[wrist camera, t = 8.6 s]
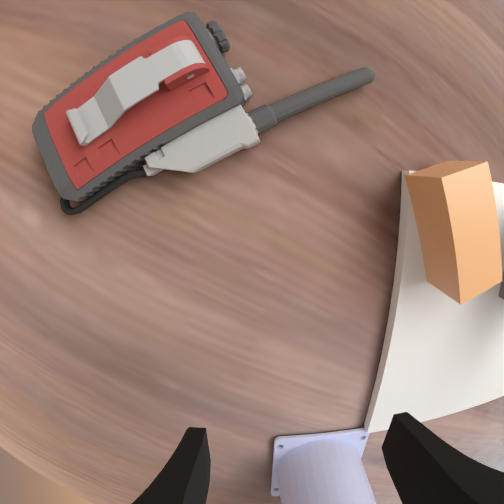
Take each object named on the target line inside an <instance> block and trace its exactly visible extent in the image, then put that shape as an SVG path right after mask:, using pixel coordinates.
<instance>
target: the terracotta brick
mask: <svg viewBox="0 0 504 504" xmlns="http://www.w3.org/2000/svg"><path fill="white" fill-rule="evenodd" d="M404 176H405V179H406V183H407V187H408V191H409V194H410V198H411V202H412V207H413V211H414V215H415V220H416V224H417V229H418V234H419V238H420V244H421V249H422V254H423V260H424V266H425V272H426V278H427V282H428V283H430V284H431V285H433V286H434V287H436V288H437V289H439V290H440V291H442V292H443V293H444V294H446V295H447V296H449V297H450V298H452V299H453V300H454V301H456V302H457V303H459V304H460V305H461V304H463V303H465V302H467V301H469V300H470V299H472V298H474V297H476V296H478V295H479V294H481V293H483V292H485V291H486V290H488V289H490V288H491V287H493V286H495V285H496V284H498V283H500V282H501V281H502V260H501V246H500V235H499V226H498V217H497V210H496V203H495V197H494V191H493V185H492V180H491V175H490V170H489V165H488V162H486V161H446V162H443V163H440V164H437V165H434V166H431V167H428V168H425V169H422V170H419V171H416V172H413V173H410V174H407V175H404Z"/></svg>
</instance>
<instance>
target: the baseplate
mask: <svg viewBox="0 0 504 504" xmlns="http://www.w3.org/2000/svg"><path fill="white" fill-rule="evenodd" d="M413 172H416V171H410V170H402V184H401V208H400V224H399V237H398V248H397V258H396V267H395V275H394V283H393V290H392V297H391V304H390V310H389V317H388V322H387V328H386V334H385V339H384V344H383V349H382V354H381V359H380V363H379V368H378V372H377V377H376V381H375V385H374V389H373V393H372V397H371V401H370V405H369V408H368V412H367V416H366V419H365V423H364V428H365V430H366V432H367V433H372V432H378V431H383V430H388V429H389V426H390V423H391V421H392V418H393V415H394V414H398V413H403V412H408V413H409V414H410V415H412V416H413V417H414V418H415V419H417V420H418V421H419V422H424V421H428V420H431V419H435V418H439V417H442V416H446V415H449V414H452V413H456V412H459V411H462V410H465V409H468V408H471V407H474V406H477V405H480V404H483V403H486V402H488V401H491V400H494V399H496V398H499V397H501V396H504V299H502V298H500V297H499V291H500V286H501V282H500V283H498V284H496V285H495V286H493V287H491V288H490V289H488V290H486V291H485V292H483V293H481V294H479V295H478V296H476V297H474V298H472V299H470V300H469V301H467V302H465V303H463V304H461V305H460V304H459V303H457V302H456V301H454V300H453V299H452V298H450V297H449V296H447V295H446V294H444V293H443V292H442V291H440V290H439V289H437V288H436V287H434V286H433V285H431V284H430V283H428V282H427V278H426V272H425V266H424V260H423V254H422V249H421V244H420V238H419V234H418V229H417V224H416V220H415V215H414V211H413V207H412V202H411V198H410V194H409V191H408V187H407V183H406V179H405V176H404V175H407V174H410V173H413ZM492 185H493V191H494V197H495V203H496V210H497V217H498V226H499V235H500V246H501V260H502V276H503V271H504V184H503V183H497V182H492Z"/></svg>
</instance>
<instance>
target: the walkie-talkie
mask: <svg viewBox="0 0 504 504" xmlns="http://www.w3.org/2000/svg"><path fill="white" fill-rule="evenodd" d="M206 27H207V28H205V27H204V25H203V23H202V22H201V20H200V19H199V17H198V16H197V15H196V13H190V12H185V13H183V14H181V15H179V16H177V17H175V18H173V19H171V20H169V21H168V22H166V23H164V24H162V25H160V26H158V27H156V28H155V29H153V30H151V31H149V32H147V33H146V34H144V35H142V36H141V37H139V38H137V39H135V40H134V41H132V42H131V43H129V44H127V45H126V46H124V47H123V48H121V49H119V50H118V51H116V53H115V54H113V55H112V56H111V55H110V56H109V57H108V58H107V59H106V60H105V61H101V62H100V64H99V65H97V66H96V67H95V66H94V67H93V68H92V70H90V71H89V72H86V73H85V75H84V76H82V77H81V78H80V77H79V78H78V79H77V81H76V82H74V83H72V84H70V86H69V87H68V88H67V89H64V90H63V92H62V93H61V94H58V95H57V96H56V98H55V99H53V100H51V101H50V103H49V104H48V105H45V106H44V107H43V109H42V110H41V111H38V114H37V116H36V118H35V121H34V123H33V125H32V132H33V135H34V137H35V140H36V143H37V145H38V148H39V150H40V153H41V155H42V158H43V160H44V162H45V165H46V167H47V169H48V172H49V174H50V176H51V178H52V181H53V183H54V185H55V187H56V189H57V191H58V193H59V194H60V196H61V200H60V203H61V207H62V210H63V212H64V213H66V214H68V215H74V214H77V213H81V212H82V211H84V210H85V209H86V208H88V207H89V206H91V205H92V204H93V203H95V202H96V201H98V200H99V199H101V198H102V197H103V196H105V195H106V194H108V193H109V192H111V191H112V190H114V189H115V188H117V187H118V186H120V185H121V184H123V183H125V182H126V181H128V180H130V179H131V178H134V177H143V176H146V175H148V176H154V175H156V174H158V173H159V172H161V171H162V170H164V169H167V170H175V171H183V172H191V173H198V172H200V171H202V170H203V169H205V168H207V167H209V166H211V165H213V164H215V163H217V162H219V161H220V160H222V159H224V158H226V157H228V156H230V155H232V154H234V153H236V152H238V151H240V150H242V149H250V148H251V147H253V146H255V145H257V144H259V142H260V139H259V137H258V134H260V133H262V132H264V131H266V130H268V129H270V128H272V127H274V126H276V124H277V122H279V121H281V120H283V119H285V118H287V117H289V116H292V115H294V114H296V113H298V112H301V111H303V110H305V109H307V108H310V107H312V106H314V105H317V104H319V103H321V102H324V101H326V100H329V99H331V98H334V97H336V96H338V95H341V94H343V93H346V92H348V91H351V90H353V89H356V88H359V87H361V86H364V85H366V84H369V83H371V82H372V81H373V80H374V73H373V71H372V70H371V69H369V68H366V67H363V68H360V69H358V70H355V71H352V72H349V73H347V74H344V75H341V76H339V77H336V78H334V79H331V80H328V81H326V82H323V83H321V84H318V85H316V86H314V87H311V88H309V89H306V90H304V91H302V92H299V93H297V94H295V95H292V96H290V97H288V98H286V99H283V100H281V101H279V102H277V103H275V104H272V105H270V106H268V105H263V106H261V107H259V108H257V109H255V110H253V111H251V112H249V113H245V111H244V109H243V106H244V104H245V102H247V99H248V98H250V97H252V96H253V95H252V92H251V90H250V88H249V87H248V85H247V84H245V85H243V86H240V83H241V82H243V81H245V80H247V79H246V76H245V74H244V72H243V71H242V69H241V68H240V67H239V68H236V69H234V70H233V69H232V68H230V67H229V66H228V64H227V62H226V61H225V59H224V57H223V56H222V54H221V52H223V53H224V52H227V51H229V48H230V45H229V42H228V40H227V38H226V36H225V34H224V32H223V30H222V28H221V27H220V26H219V24H218V23H217V22H215V21H211V22H209V23H207V26H206ZM145 162H147V164H145V165H144V163H145ZM143 165H144V166H143ZM139 166H143V169H142V170H137V169H136V168H137V167H139ZM135 170H136V171H135ZM69 200H72V201H77V202H78V201H83V200H86V201H84V202H83V203H82V204H80V205H79V206H77V207H76V208H72V207H71V206H70V203H69Z"/></svg>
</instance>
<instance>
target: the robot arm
mask: <svg viewBox="0 0 504 504" xmlns="http://www.w3.org/2000/svg"><path fill="white" fill-rule="evenodd" d="M362 436H363V437H362ZM368 436H369V433H367V432H366V430H365V428H358V429H351V430H344V431H336V432H327V433H318V434H307V435H293V436H279V437H276V438H275V440H274V451H273V466H272V480H271V495H272V496H280V499H281V504H376V501H375V498H374V495H373V492H372V489H371V486H370V484H369V481H368V478H367V475H366V472H365V469H364V467H363V464H362V461H361V457H362V454H363V451H364V448H365V445H366V442H367V439H368ZM382 451H383V454H384V458H385V462H386V465H387V468H388V471H389V473H390V476H391V478H392V480H393V483H394V485H395V487H396V489H397V492H398V494H399V496H400V499H401V501H402V503H403V504H504V472H501V471H498V470H495V469H493V468H490V467H488V466H485V465H483V464H481V463H479V462H477V461H475V460H473V459H471V458H469V457H467V456H466V455H464V454H462V453H461V452H459V451H458V450H456V449H455V448H453V447H452V446H450V445H449V444H447V443H446V442H445V441H443V440H442V439H441V438H439V437H438V436H437V435H435V434H434V433H433V432H431V431H430V430H429V429H428V428H426V427H425V426H424V425H423V424H422V423H420V422H419V421H418V420H417V419H415V418H414V417H413V416H412V415H410V414H409V413H408V412H403V413H398V414H394V415H393V418H392V421H391V423H390V426H389V429H388V432H387V435H386V437H385V440H384V443H383V445H382ZM210 462H211V460H210V453H209V447H208V440H207V433H206V428H193V427H189V428H188V429H187V430H186V432H185V434H184V436H183V438H182V440H181V442H180V443H179V445H178V447H177V448H176V450H175V452H174V453H173V455H172V456H171V458H170V459H169V461H168V462H167V464H166V465H165V467H164V468H163V469H162V471H161V472H160V473H159V474H158V476H157V477H156V478H155V479H154V481H153V482H152V483H151V484H150V486H149V487H148V488H147V489H146V490H145V491H144V492H143V493H142V494H141V495H140V496H139V497H138V498H137V499H136V500H135V501H134V502H133V503H132V504H206V498H207V493H208V487H209V480H210Z"/></svg>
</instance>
